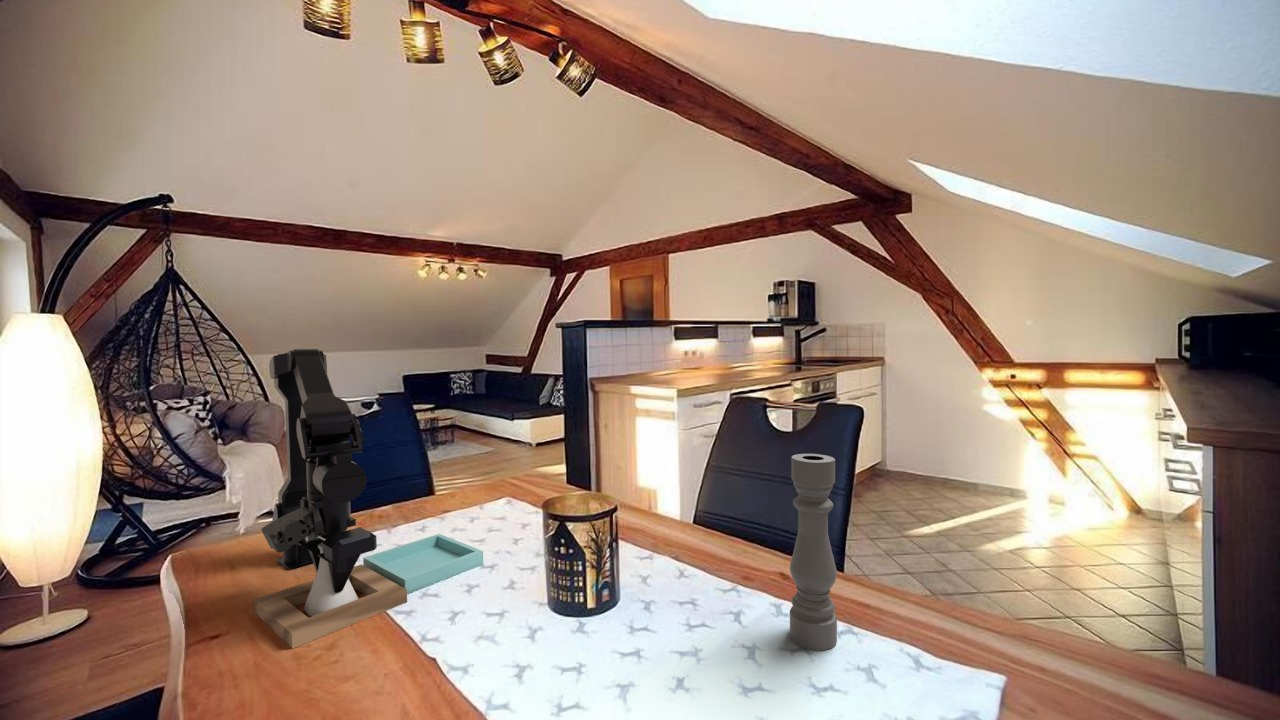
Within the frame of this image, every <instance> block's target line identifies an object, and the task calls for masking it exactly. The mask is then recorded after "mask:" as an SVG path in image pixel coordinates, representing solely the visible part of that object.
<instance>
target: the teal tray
mask: <svg viewBox="0 0 1280 720" xmlns="http://www.w3.org/2000/svg"><path fill="white" fill-rule="evenodd" d="M362 559H363V560H362V561H363V564H362V565H363V566H365V567H367V568H369V569H371V570H372V571H374V572H376V573H378V574H380V575H381V576H383V577H385V578H387V579H389V580H390V581H392V582H394V583H396V584H398V585H399V586H401V587H403V588H405V589H407V595H408V594H412V593H414V592H417V591H420V590H422V589H424V588H426V587H427V588H428V587H429V586H432V585H434V584H437V583H440V582H443V581H444V580H447V579H450V578H452V577H455V576H457V575H460V574H462V573H465V572H467V571H470V570H472V569H475V568H478V567H480V566H482V565H484V551H483V550H482V549H480V548H476V547H474V546H471V545H468V544H466V543H465V542H461V541H459V540H456V539H454V538H452V537H448V536H447V535H443V534H441V533H438V534H434V535H430V536H428V537H425V538H422V539H421V538H420V539H418V540H415V541H412V542H409V543H405V544H402V545H399V546H397V547H393V548H390V549H386V550H384V551H380V552H377V553H374V554H371V555H368V556H365V557H363V558H362Z"/></svg>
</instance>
